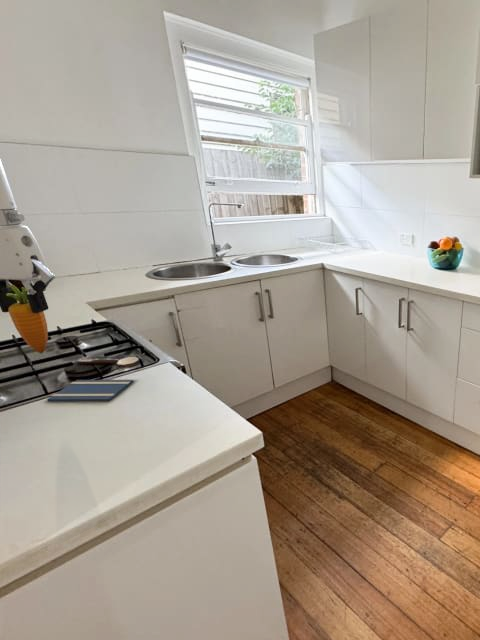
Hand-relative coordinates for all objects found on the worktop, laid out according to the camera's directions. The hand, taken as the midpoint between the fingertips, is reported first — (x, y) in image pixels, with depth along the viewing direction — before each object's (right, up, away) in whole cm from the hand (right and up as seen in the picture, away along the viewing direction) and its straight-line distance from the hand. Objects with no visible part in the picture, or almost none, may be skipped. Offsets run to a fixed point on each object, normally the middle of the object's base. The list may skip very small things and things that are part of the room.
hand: (25, 309), depth 78 cm
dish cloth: (+11, -17, +3) cm, 21 cm away
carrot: (-1, -9, +4) cm, 10 cm away
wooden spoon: (+6, -12, +14) cm, 20 cm away
